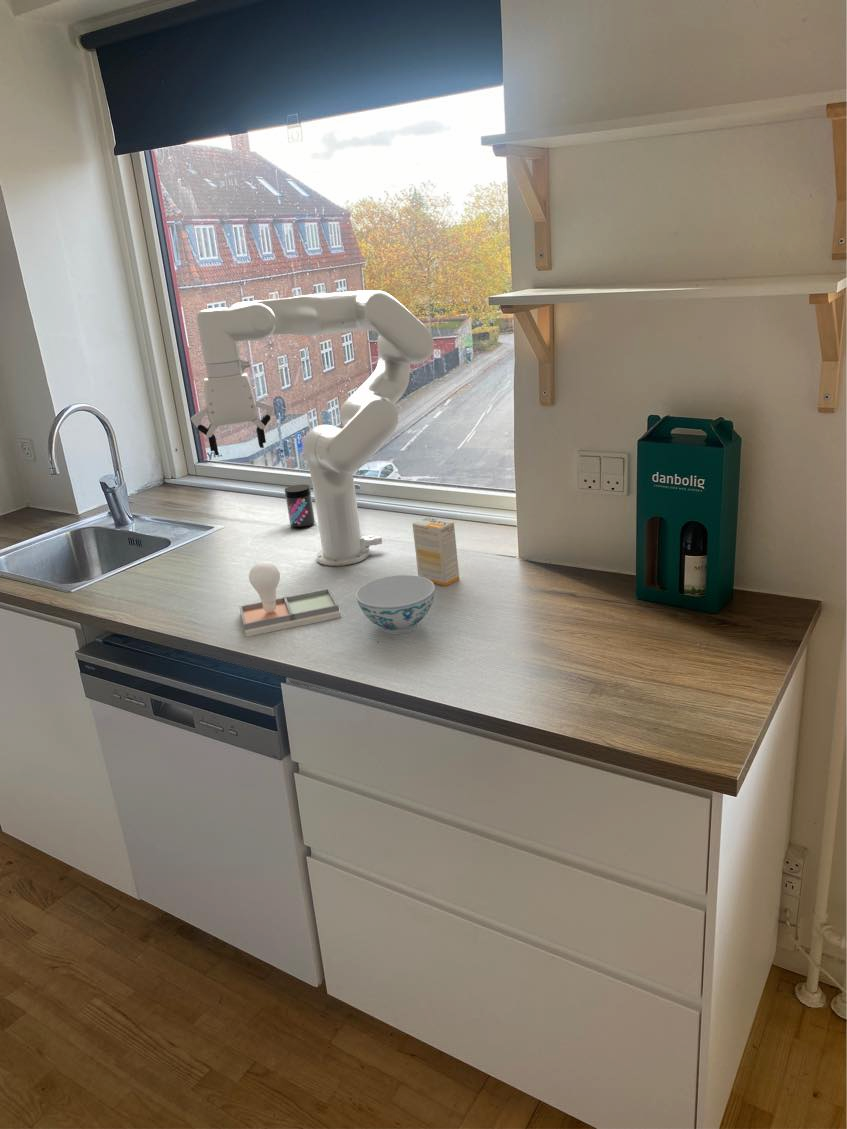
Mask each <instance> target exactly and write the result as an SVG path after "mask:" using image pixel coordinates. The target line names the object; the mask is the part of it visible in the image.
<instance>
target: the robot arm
mask: <svg viewBox="0 0 847 1129" xmlns="http://www.w3.org/2000/svg"><path fill="white" fill-rule="evenodd" d="M196 322H197V327H198V333H199V339H200V344H201V350H202V355H203V360H204V366H205V370H206V377H205V378H204V379H203V388H204V389H203V390H204V399H205V407H203V408H201V409H200V411H198V412H196V413H195V414H193V415H192V416H191V417H190V421H191V423H192V424H193V425H194V426H195V428H197V430H198V431H199V432H200V433H203V434H204V435H205V436H207V437H208V443H209V450H210V451H211V452H214V456H219V449H218V444H217V439H216V435H215V432H216V431H217V428H221V427H228V426H235V425H241V424H247V423H248V424H249V423H253V424H254V425H255V426H256V428H255V430H256V436H257V440H258V446H259V448H261V449H264V448H265V447H264V446H265V445H264V444H266V443H267V441H266V440H267V439H266V435H265V428H266V426H267V424H268V423H269V422H270V420H271V417H272V414H273V411H274V406H273V405H272V404H269V403H266V402H263V401H260V400H257V399H255V395H254V390H253V386H252V383H251V380H250V377H249V374H248V373H247V372H245V370H246V369H249V368H251V365H250V361H249V360H248V361H247V360H243V359H242V353H241V348H240V342H247V341H250V342H254V341H255V342H257V341H263V340H266V339H268V338H270V336H275V335H276V336H277V335H294V336H295V335H296V336H297V335H298V336H307V337H311V336H325V335H331V334H332V335H334V334H344V333H352V332H353V333H354V332H362V331H371V332H375V333H377V335H378V337H377V346H376V347H377V353H378V354H377V364H376V366H375V369H374V371H373V372H372V373H371V375H370V376H369V377H368V378H367V379H366V380H365V381H364V382H363V383H362V384H361V385H360V386H359V387H358V388H357V389H356V390H355V391H354V392H353V393H352V394H351V395H350V396H349V397H348V398H347V399H346V400H345V401H344V403H343V404H342V405H341V408H340V410H339V419H340V420H339V421H340V423H341V424H342V426H343V427H338V426H335V425H331V424H319V425H317V426H314V427H313V428H312V429H310V431H308V433H307V435H306V437H305V439H304V443H303V444H304V445H303V448H304V450H303V451H304V456H305V460H306V464H307V467H308V470H309V474H310V478H311V482H312V488H313V490H312V491H313V495H314V496H313V497H314V502H315V509H316V515H317V523H318V530H319V538H320V543H321V550H320V551H318V553H317V554H316V560H317V562H318V563H319V564H322V565H324V566H329V567H337V566H338V567H339V566H340V567H342V566H347V565H352V564H356V563H359V562H362V561H364V560H365V559H367V558H368V557H369V556H370V554H371V552H370V547H371V546H378V545H382V544H383V540H382V537H381V535H379V536H374V535H373V534H371V535H367V536H364V535H362V533H361V526H360V517H359V512H358V502H357V496H356V486H355V485H356V484H355V480H354V475H353V473H354V472H356V471H358V470H360V469H361V467H363V466H364V465H365V464H366V463H367V462H368V461H369V460H370V459H371V458H372V457H373V456H374V455H375V454H376V453H377V452H378V451H379V450H380V448H382V446H384V445H385V443H386V442H388V440H389V439H390V438H391V437H392V435H393V434H394V432H395V431H396V428H397V426H398V422H399V412H398V409H397V407H396V403H398V401H399V400H400V399H401V398H402V397H403V395H404V394H405V392H406V390H407V389H408V387H409V382H410V377H411V376H410V375H411V365H416V364H417V365H419V364H422V363H424V362H426V361H427V360H429V358H430V357H431V356H432V354H433V352H434V349H435V348H434V346H435V344H434V337H433V334H432V333H431V332H430V330H429V328H428V327H427V326H426V325H425V324H424V323H423V322H422V321H421V320H419V319H418V318H417V317H416V316H415V315H414V314H413V313H412V312H411V311H409V310H408V309H407V308H406V307H405V306H404V305H403V304H402V303H401V302H400V301H398V300H397V299H396V298H395V297H394V296H393V295H391V294H389V293H388V292H386V291H383V290H357V291H356V290H354V291H341V292H340V291H339V292H331V293H330V292H329V293H318V294H317V293H316V294H305V295H298V296H293V297H292V296H291V297H286V298H275V299H274V298H273V299H264V300H252V301H251V300H249V301H239V302H236V303H234V304H232V305H231V306H230V307H214V308H207V309H203V310H200V311H198V313H197V314H196ZM257 408H259V409H263V410H265V413H264V415H263V417H262V418H261V419H259V418H258V409H257ZM205 416H207V419H208V422H209V423H210V424H209V425H208V427H206V426H205V425H204V424H202V422H201V421H200V420H201V419H203V418H205Z"/></svg>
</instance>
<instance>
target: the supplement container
mask: <svg viewBox="0 0 847 1129" xmlns="http://www.w3.org/2000/svg"><path fill="white" fill-rule="evenodd" d="M311 493H312V491H311V485H308V484H295V485H290V486H287V487H285V488H284V496H285V502H286V507H287V512H288V520H289V525H290V528H292V529H295V530H301V529H302V530H303V529H308V528H311V527H313V526H314V525H315V524H316V523H315V522H316V520H315V512H314V506H313V500H312V494H311Z"/></svg>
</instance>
